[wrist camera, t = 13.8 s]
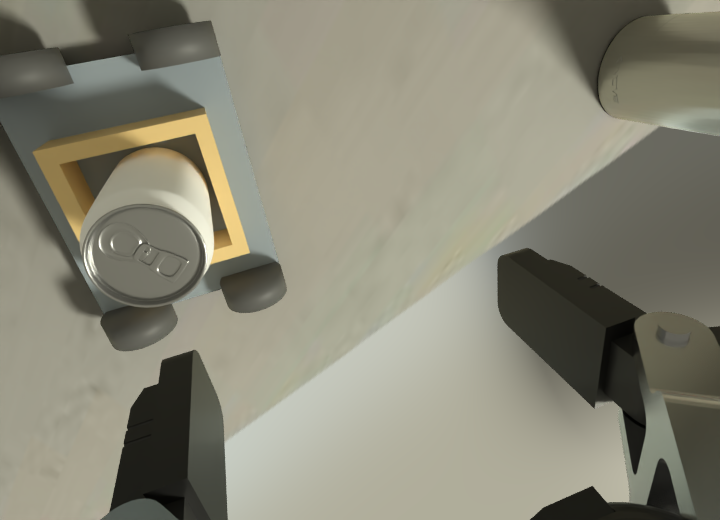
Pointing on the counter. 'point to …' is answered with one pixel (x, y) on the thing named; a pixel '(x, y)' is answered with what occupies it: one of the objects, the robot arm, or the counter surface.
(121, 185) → the can
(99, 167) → the chassis
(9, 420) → the counter surface
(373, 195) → the counter surface
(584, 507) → the robot arm
